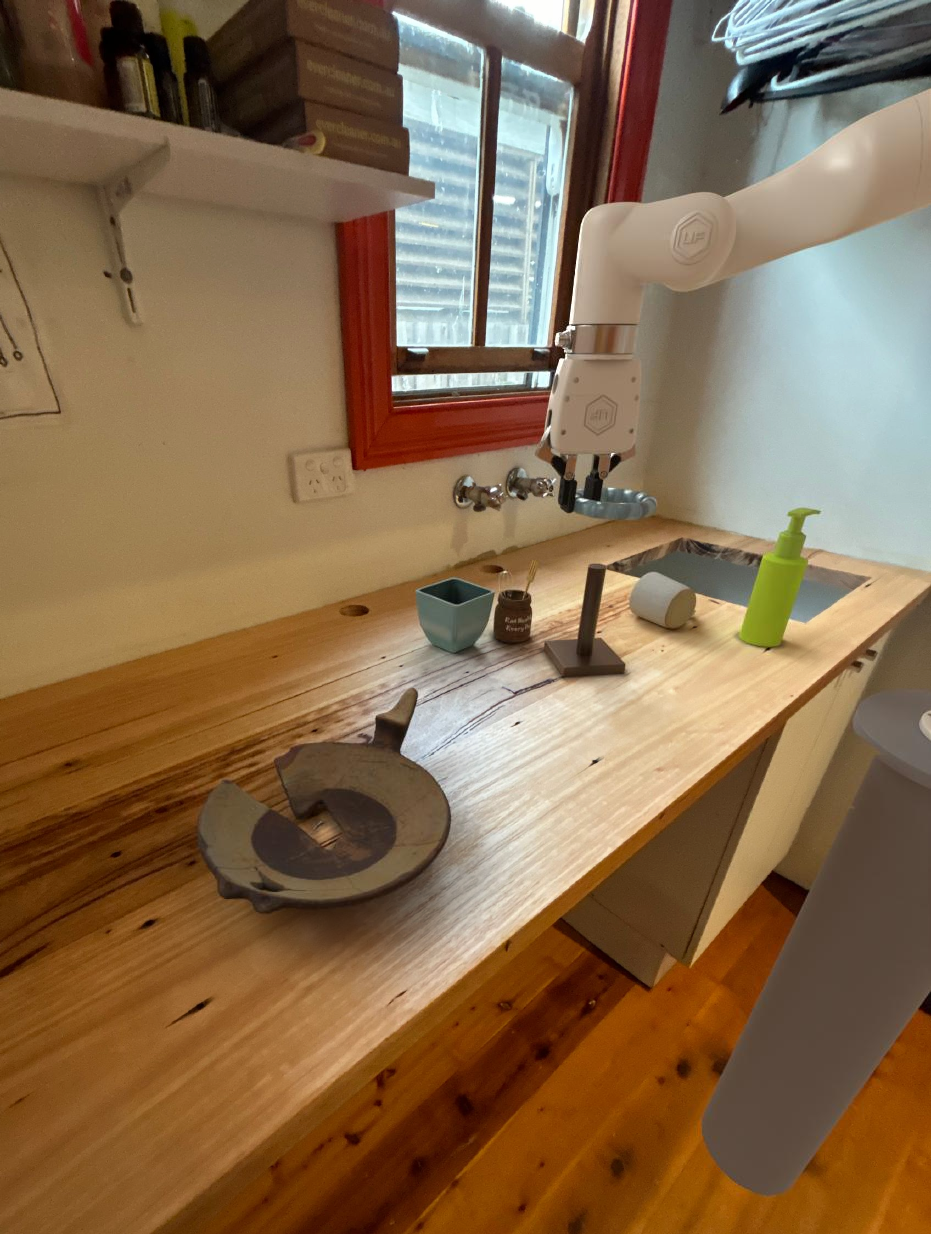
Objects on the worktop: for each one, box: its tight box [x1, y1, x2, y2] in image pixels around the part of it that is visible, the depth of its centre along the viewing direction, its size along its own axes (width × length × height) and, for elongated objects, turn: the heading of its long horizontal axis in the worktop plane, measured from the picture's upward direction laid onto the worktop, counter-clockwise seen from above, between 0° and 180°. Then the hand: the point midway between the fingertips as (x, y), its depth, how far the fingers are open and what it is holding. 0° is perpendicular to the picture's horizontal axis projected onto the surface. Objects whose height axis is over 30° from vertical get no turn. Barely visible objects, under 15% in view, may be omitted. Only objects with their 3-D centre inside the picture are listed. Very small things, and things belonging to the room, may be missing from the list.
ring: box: [572, 486, 658, 521], centre depth 78 cm, size 11×11×2 cm
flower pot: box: [415, 577, 496, 654], centre depth 93 cm, size 9×9×9 cm
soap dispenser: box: [738, 507, 822, 648], centre depth 91 cm, size 6×7×20 cm
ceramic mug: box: [628, 571, 697, 629], centre depth 101 cm, size 11×8×8 cm
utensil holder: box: [492, 559, 540, 644], centre depth 95 cm, size 6×6×12 cm
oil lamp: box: [196, 687, 452, 915], centre depth 57 cm, size 22×30×8 cm
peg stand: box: [543, 562, 626, 678], centre depth 87 cm, size 9×9×14 cm
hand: (577, 509), depth 78 cm, fingers closed on ring, 2 cm apart
